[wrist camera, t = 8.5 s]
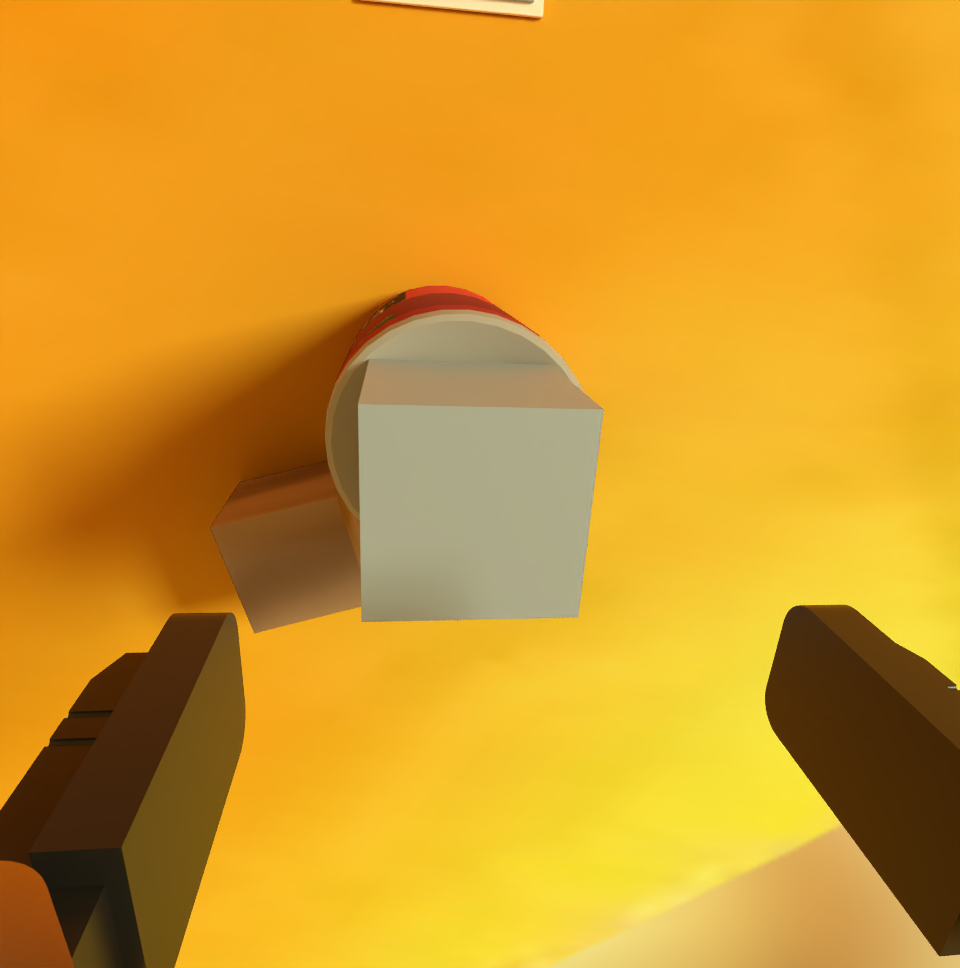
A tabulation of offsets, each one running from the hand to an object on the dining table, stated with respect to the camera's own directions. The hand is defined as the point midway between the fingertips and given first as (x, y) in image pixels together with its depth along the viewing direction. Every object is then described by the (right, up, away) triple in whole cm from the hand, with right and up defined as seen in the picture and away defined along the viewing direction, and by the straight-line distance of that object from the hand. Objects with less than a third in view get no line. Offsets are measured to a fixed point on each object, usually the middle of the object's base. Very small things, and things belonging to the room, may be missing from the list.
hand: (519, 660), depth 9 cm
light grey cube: (-1, +4, +9) cm, 10 cm away
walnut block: (-9, +1, +21) cm, 23 cm away
